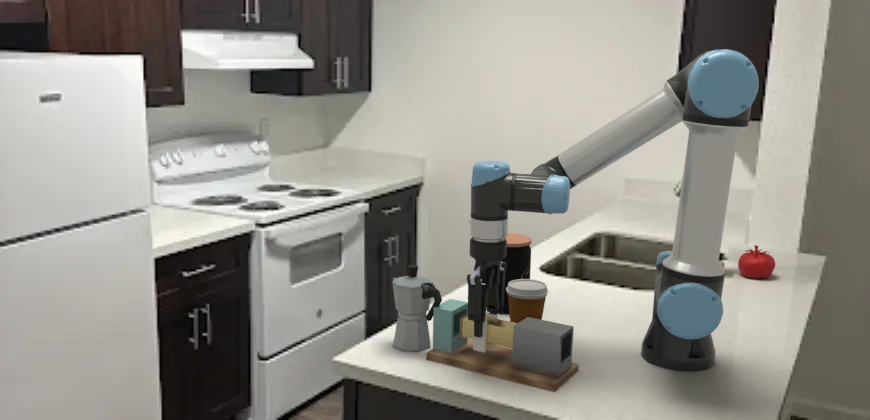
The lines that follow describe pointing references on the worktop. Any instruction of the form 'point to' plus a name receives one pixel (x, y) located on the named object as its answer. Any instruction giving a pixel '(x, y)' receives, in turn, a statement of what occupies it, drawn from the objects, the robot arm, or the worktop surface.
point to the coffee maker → (413, 310)
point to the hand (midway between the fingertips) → (485, 346)
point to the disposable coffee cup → (526, 299)
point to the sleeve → (542, 347)
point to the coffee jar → (516, 262)
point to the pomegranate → (756, 264)
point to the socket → (448, 325)
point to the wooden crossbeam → (490, 331)
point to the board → (497, 365)
